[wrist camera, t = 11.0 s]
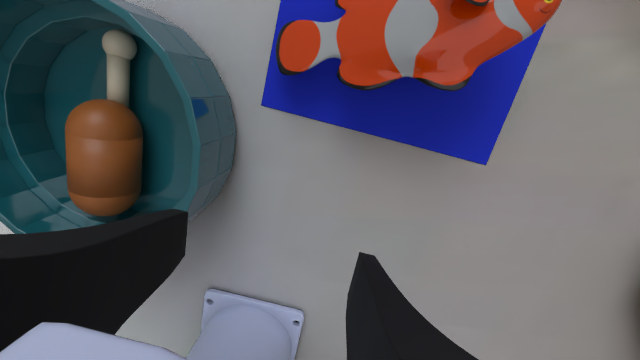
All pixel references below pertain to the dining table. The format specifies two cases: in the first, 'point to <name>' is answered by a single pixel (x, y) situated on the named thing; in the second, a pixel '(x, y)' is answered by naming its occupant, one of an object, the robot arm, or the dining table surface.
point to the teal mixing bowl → (91, 83)
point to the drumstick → (106, 139)
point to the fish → (406, 67)
